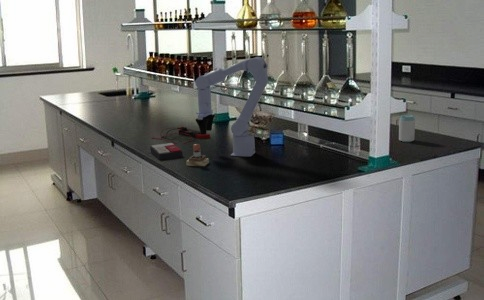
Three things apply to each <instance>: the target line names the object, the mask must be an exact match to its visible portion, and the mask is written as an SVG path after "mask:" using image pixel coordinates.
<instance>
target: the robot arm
mask: <svg viewBox="0 0 484 300" xmlns="http://www.w3.org/2000/svg"><path fill="white" fill-rule="evenodd" d="M240 71H243V72H249V73H250V74H251V75H252V76H253V79H254V81H255V83H254V85H253V87H252V89H251V91H250V93H249V95H248V97H247V99H246V102H245V104H244V106H243V108H242V110H241V113H240V114H239V116H238V117H237V119H236V121H235V122H234V123H232V125H231V126H230V131H231V133H232V150H233V151H232V153H231V154H230V156H231V157H250V158H251V157H252V156H254V154H255V153H256V147H255V145H256V144H255V143H256V142H255V135H251V134H250V133H249V131H248V130H249V128H250V122H251V120H252V116H253V115H254V112H255V110H256V107H257V106H258V103H259V101H260V100H261V98H262V95H263V93H264V91H265V89H266V87H267V85H268V83H269V76H268V64H267V62H266V61H265V59H264V58H263V57H261V56H255V57H253V58H248V59H244V60H242V61H239V62H237V63H235V64H233V65H230V66H229V67H225V68H224V69H223V68H222V67H221V68H220V67H218V68H217V67H216V68H215V67H214V69H213V70H212V71H210V72H205V73H204V75H199V76H198V77H197V78H196V80H195V81H194V82H195V86H196V88H197V101H198V102H197V103H198V111H196V114H197V118H196V119H195V122H196V123H197V126H198V129H199V131H200V132H201V134H206V133H207V131H208V132H211V131H212V130H213V123H214V119H215V117H216V114H213V109H212V98H211V97H212V96H211V95H212V94H211V93H212V91H211V86H215V85H216V84H218V83H221V82H224V81H226V78H227V76H230V75H232V74H235V73H237V72H240Z"/></svg>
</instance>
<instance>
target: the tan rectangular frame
mask: <svg viewBox="0 0 484 300" xmlns="http://www.w3.org/2000/svg"><path fill="white" fill-rule="evenodd" d="M209 163H210V159H209V158H208V157H207V155H206V154H205V155H202V154H201V158H194V154H193V155H191V156H190V157H189V158H188V159H187V160H186V163H185V164H186V166H188V167H206V166H207V165H208V164H209Z"/></svg>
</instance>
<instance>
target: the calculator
mask: <svg viewBox="0 0 484 300" xmlns="http://www.w3.org/2000/svg"><path fill="white" fill-rule="evenodd" d="M183 153H184V152H183V150H181V148H179V147H178V146H177V144H175V143H174V142H169V143H167V142H166V143H160V144H153V145H151V146H150V154H151V155H152V156H153V157H155V158H156V159H157V160H159V161H162V160H168V159H169V160H170V159H177V158H183Z"/></svg>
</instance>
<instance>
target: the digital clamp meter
mask: <svg viewBox="0 0 484 300" xmlns="http://www.w3.org/2000/svg"><path fill="white" fill-rule="evenodd" d="M168 129H170V130H168ZM165 130H168V131H167V132H166V134H165V136H166V137H165V136H162V133H160V137H159V138H157V137H151V140H162V141H166V142H167V141H169V142H171V143H173V144H175V145H177V144H178V143H177V142H176V141H173V140H176V139H177V140H178V141H180V143H182V145H184V144H187V143H191V142H193V141H195V140H196V139H200V140H201V139H202V140H204V139H205V140H206V139H207V140H208V139H210V138H211V134H210V133H207V132H206V134H201V132H200V130H195V129H191V128H187V127H185V126H180V127H179V126H178V127H177V130H178V132H175V133H172V134H168V133H169V132H170V131H174V130H175V131H176V128H171V127H167V128H164V129H162V130H161V132H164V131H165ZM177 134H178V135H180V134H181V136H184V137H189V136H190V137H189V138H191V139H189V140H188V141H185V142H183V141H181V140H180V138H178V136H174V137H173V138H171V139H170V138H168V137H169V136H172V135H177ZM175 138H176V139H175Z"/></svg>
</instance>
